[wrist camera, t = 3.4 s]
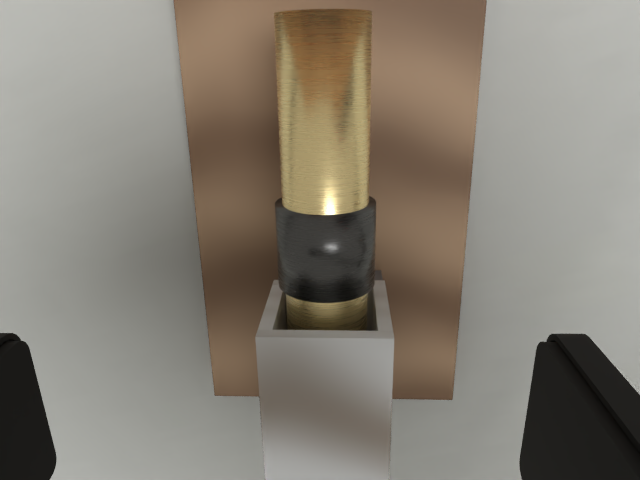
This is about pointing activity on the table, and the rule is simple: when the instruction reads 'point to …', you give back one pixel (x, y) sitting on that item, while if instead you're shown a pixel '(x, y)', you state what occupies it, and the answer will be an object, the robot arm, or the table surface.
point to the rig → (391, 226)
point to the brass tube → (325, 167)
